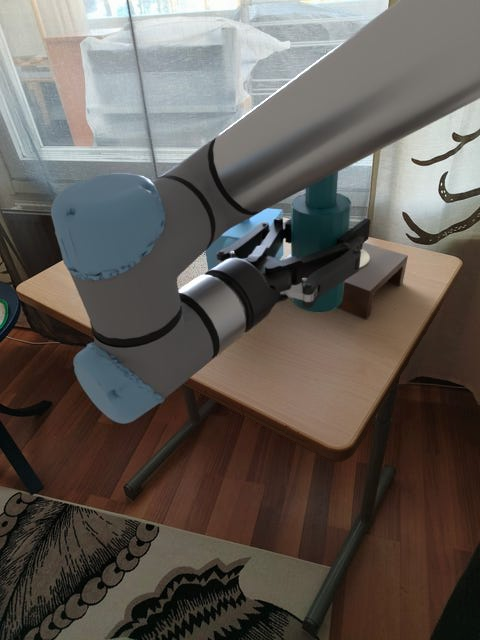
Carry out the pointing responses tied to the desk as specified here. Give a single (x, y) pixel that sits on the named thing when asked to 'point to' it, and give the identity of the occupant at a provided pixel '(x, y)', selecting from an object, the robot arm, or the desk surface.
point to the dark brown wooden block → (371, 278)
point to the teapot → (242, 234)
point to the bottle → (319, 230)
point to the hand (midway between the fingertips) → (340, 221)
